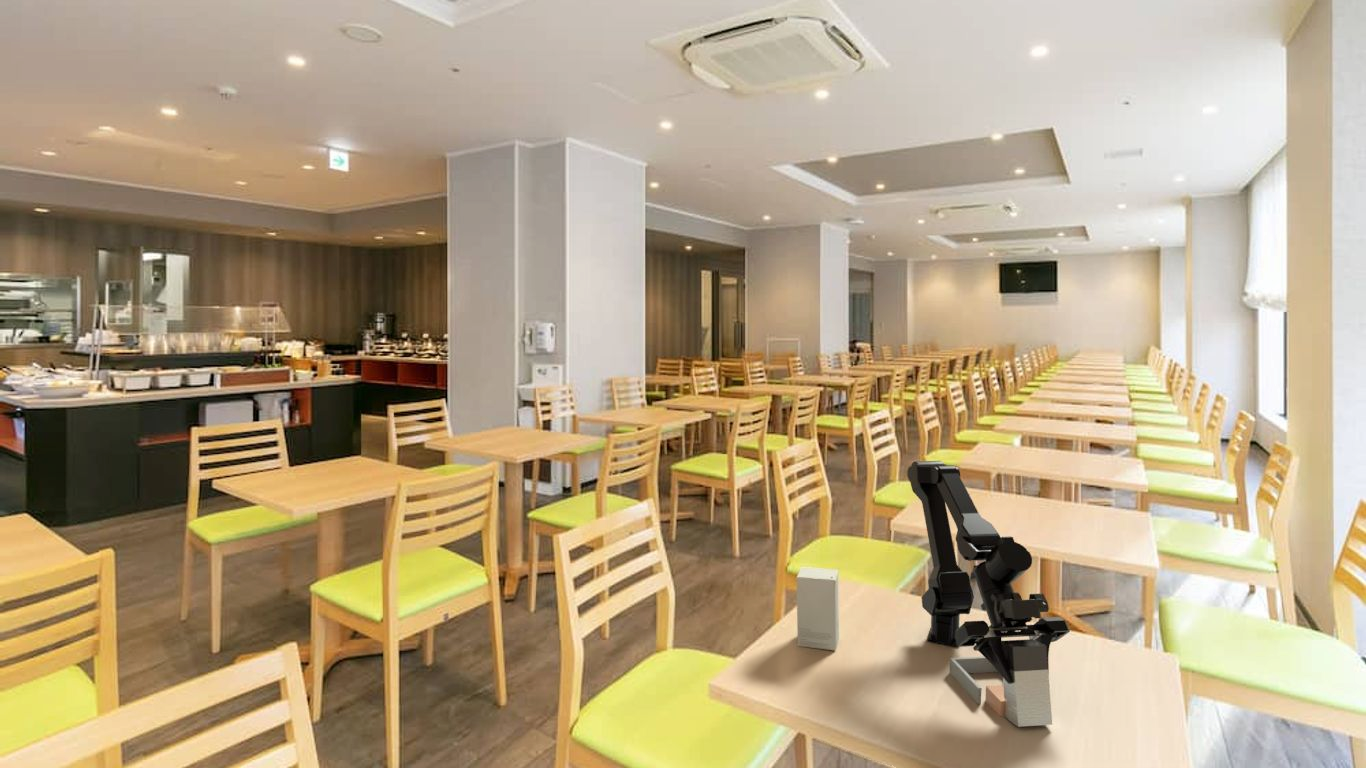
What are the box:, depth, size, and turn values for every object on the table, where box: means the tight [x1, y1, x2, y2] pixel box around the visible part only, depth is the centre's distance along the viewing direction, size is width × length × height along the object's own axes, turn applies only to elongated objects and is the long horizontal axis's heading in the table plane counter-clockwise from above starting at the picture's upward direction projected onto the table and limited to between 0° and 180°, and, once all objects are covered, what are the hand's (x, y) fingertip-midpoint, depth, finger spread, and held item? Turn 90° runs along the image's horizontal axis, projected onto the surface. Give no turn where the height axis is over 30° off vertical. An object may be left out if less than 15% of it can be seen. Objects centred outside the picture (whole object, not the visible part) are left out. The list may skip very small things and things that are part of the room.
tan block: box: [984, 684, 1005, 717], centre depth 125 cm, size 5×7×3 cm
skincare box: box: [796, 566, 840, 651], centre depth 148 cm, size 8×7×16 cm
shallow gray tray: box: [949, 655, 999, 705], centre depth 132 cm, size 11×11×3 cm
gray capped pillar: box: [1001, 638, 1053, 728], centre depth 120 cm, size 4×6×13 cm, turn 95°
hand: (1028, 682), depth 120 cm, fingers closed on gray capped pillar, 6 cm apart
